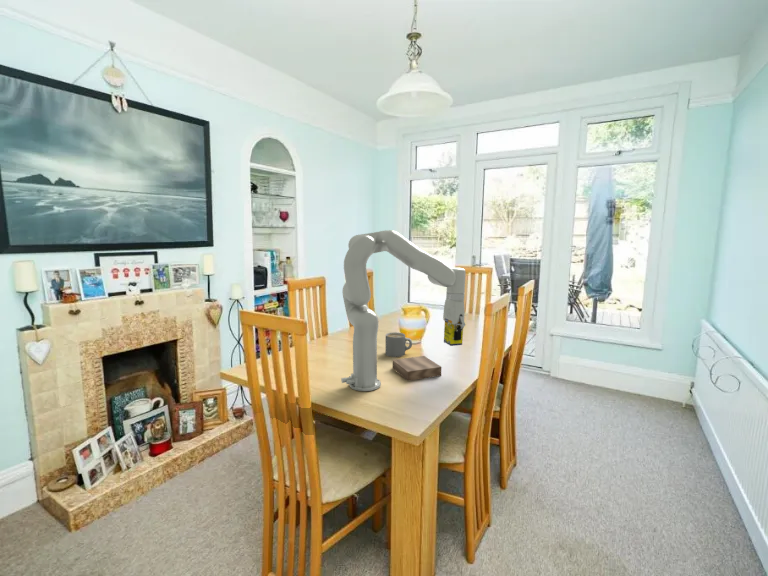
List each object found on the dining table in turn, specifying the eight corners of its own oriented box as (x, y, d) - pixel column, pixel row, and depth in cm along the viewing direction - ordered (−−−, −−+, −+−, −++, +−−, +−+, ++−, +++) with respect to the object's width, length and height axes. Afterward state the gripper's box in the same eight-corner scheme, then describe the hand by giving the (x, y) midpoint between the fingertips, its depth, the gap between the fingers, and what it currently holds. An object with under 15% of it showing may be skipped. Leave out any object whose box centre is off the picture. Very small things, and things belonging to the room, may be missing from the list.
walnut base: (407, 380, 158) (407, 371, 158) (392, 368, 173) (392, 359, 172) (441, 375, 164) (441, 366, 163) (423, 364, 179) (424, 355, 178)
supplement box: (443, 342, 166) (444, 317, 164) (455, 341, 168) (456, 317, 166) (450, 346, 160) (451, 320, 159) (462, 345, 162) (463, 319, 161)
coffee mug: (384, 356, 190) (384, 337, 188) (386, 350, 199) (387, 332, 198) (410, 357, 188) (411, 338, 186) (412, 351, 197) (412, 333, 196)
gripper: (437, 294, 168) (435, 333, 170) (458, 300, 152) (456, 344, 154) (451, 293, 171) (450, 332, 173) (474, 299, 155) (472, 342, 157)
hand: (453, 337), depth 164 cm, fingers closed on supplement box, 6 cm apart
